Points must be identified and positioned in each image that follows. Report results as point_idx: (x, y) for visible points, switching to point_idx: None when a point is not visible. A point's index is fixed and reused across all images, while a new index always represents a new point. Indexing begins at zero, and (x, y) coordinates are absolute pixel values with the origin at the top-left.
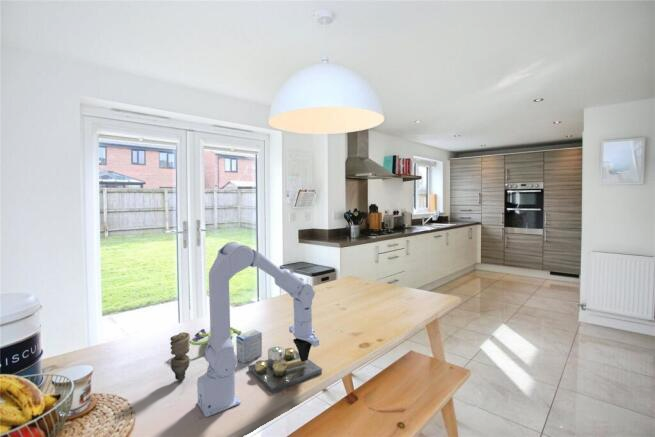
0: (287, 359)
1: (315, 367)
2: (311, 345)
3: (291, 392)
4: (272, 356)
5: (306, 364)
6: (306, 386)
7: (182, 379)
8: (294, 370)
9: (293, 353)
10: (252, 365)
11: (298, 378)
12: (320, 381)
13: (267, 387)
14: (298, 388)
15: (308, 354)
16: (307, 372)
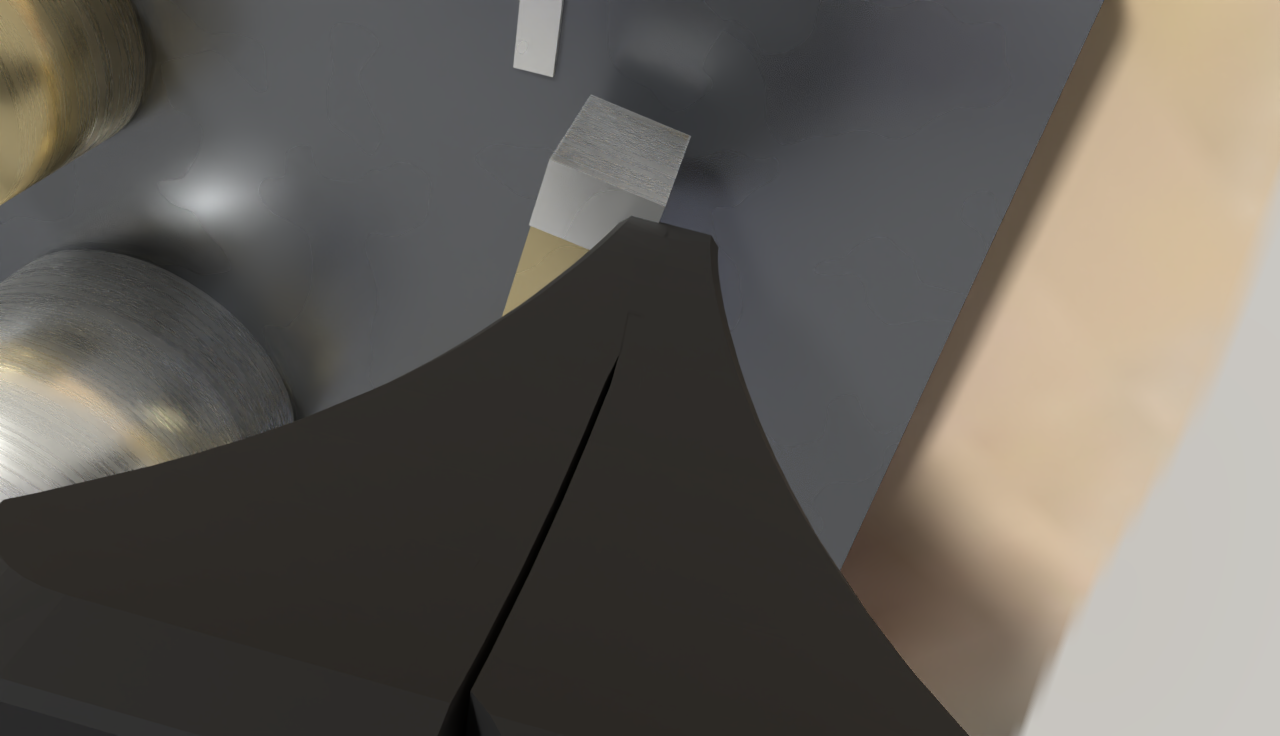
0: (113, 154)
1: (923, 6)
2: (852, 614)
3: (937, 659)
4: None
5: (608, 43)
6: (1062, 475)
7: None
8: None
9: (46, 70)
10: None
11: (862, 520)
12: (1258, 220)
13: None
14: (968, 563)
15: (727, 333)
16: (892, 311)
